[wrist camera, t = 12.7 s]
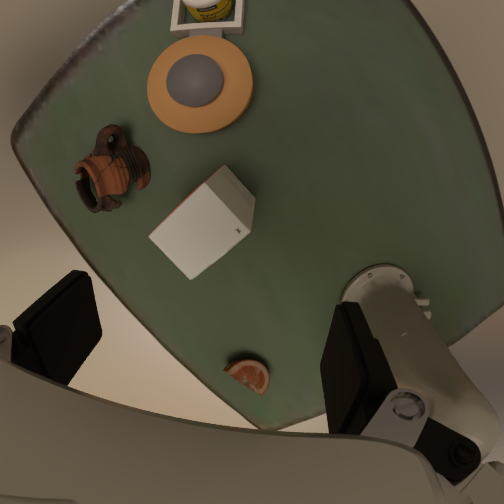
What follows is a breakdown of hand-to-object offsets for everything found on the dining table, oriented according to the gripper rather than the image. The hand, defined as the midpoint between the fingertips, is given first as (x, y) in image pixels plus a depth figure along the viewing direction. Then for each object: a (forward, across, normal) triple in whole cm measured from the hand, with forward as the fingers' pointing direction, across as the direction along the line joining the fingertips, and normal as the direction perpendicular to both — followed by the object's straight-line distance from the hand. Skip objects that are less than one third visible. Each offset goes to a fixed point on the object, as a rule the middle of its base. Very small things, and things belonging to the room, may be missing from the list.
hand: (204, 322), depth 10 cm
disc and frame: (+29, +7, -19) cm, 35 cm away
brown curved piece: (+29, +19, -2) cm, 35 cm away
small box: (+30, +5, +2) cm, 30 cm away
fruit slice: (+31, -1, +31) cm, 44 cm away
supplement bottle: (+29, +7, -24) cm, 39 cm away
